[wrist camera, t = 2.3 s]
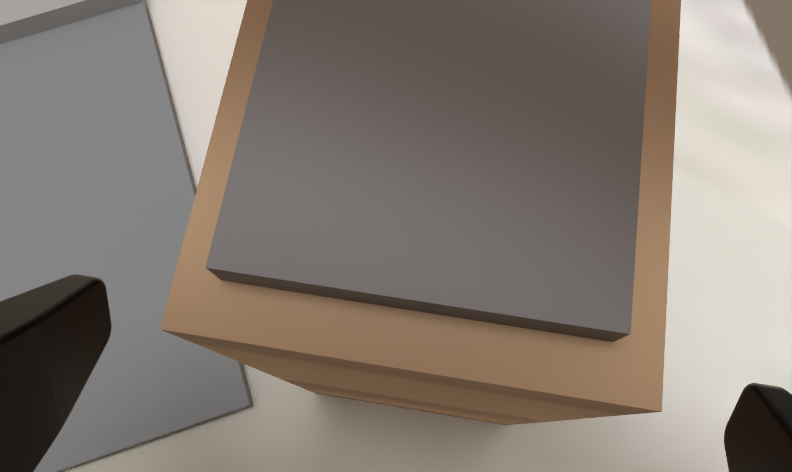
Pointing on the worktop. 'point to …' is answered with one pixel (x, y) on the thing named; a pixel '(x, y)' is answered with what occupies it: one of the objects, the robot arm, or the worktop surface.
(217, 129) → the wooden tall block
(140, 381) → the grey flat slab
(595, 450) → the worktop surface
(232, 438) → the worktop surface
